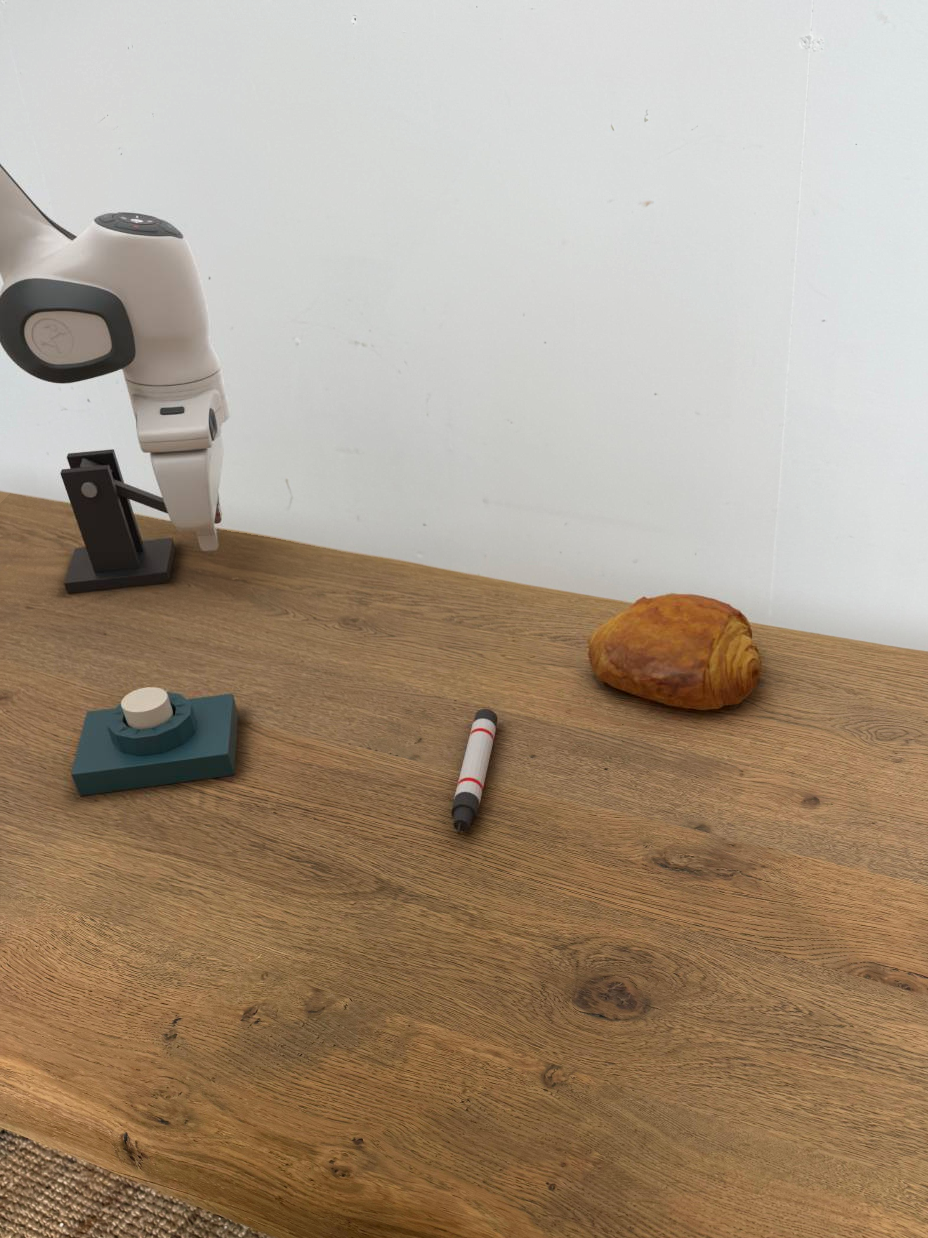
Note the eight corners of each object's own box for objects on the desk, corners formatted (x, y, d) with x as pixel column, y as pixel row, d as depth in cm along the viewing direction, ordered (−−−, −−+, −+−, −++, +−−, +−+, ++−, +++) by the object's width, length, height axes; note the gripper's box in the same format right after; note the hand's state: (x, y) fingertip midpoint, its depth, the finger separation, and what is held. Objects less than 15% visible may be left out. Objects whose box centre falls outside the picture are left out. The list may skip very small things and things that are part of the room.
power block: (79, 796, 94) (63, 755, 91) (94, 732, 100) (79, 693, 98) (234, 775, 96) (222, 735, 93) (238, 714, 102) (227, 675, 100)
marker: (475, 727, 100) (473, 708, 99) (498, 727, 100) (496, 708, 99) (447, 844, 88) (444, 824, 87) (473, 845, 88) (470, 824, 87)
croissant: (713, 757, 100) (727, 683, 94) (561, 685, 105) (566, 610, 99) (788, 673, 109) (805, 601, 103) (645, 611, 114) (654, 538, 108)
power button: (124, 732, 94) (118, 714, 93) (129, 708, 97) (123, 690, 96) (171, 726, 95) (165, 708, 93) (175, 702, 97) (169, 684, 96)
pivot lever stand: (175, 547, 127) (144, 440, 119) (169, 582, 121) (136, 471, 113) (78, 558, 125) (40, 450, 118) (67, 593, 119) (26, 482, 112)
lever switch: (210, 523, 124) (217, 503, 123) (207, 544, 121) (214, 524, 119) (78, 473, 118) (84, 452, 117) (71, 493, 115) (77, 472, 113)
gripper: (156, 367, 121) (188, 496, 130) (134, 442, 106) (172, 582, 115) (219, 363, 122) (247, 491, 131) (207, 437, 107) (239, 576, 116)
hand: (212, 534), depth 123 cm, fingers closed on lever switch, 5 cm apart
